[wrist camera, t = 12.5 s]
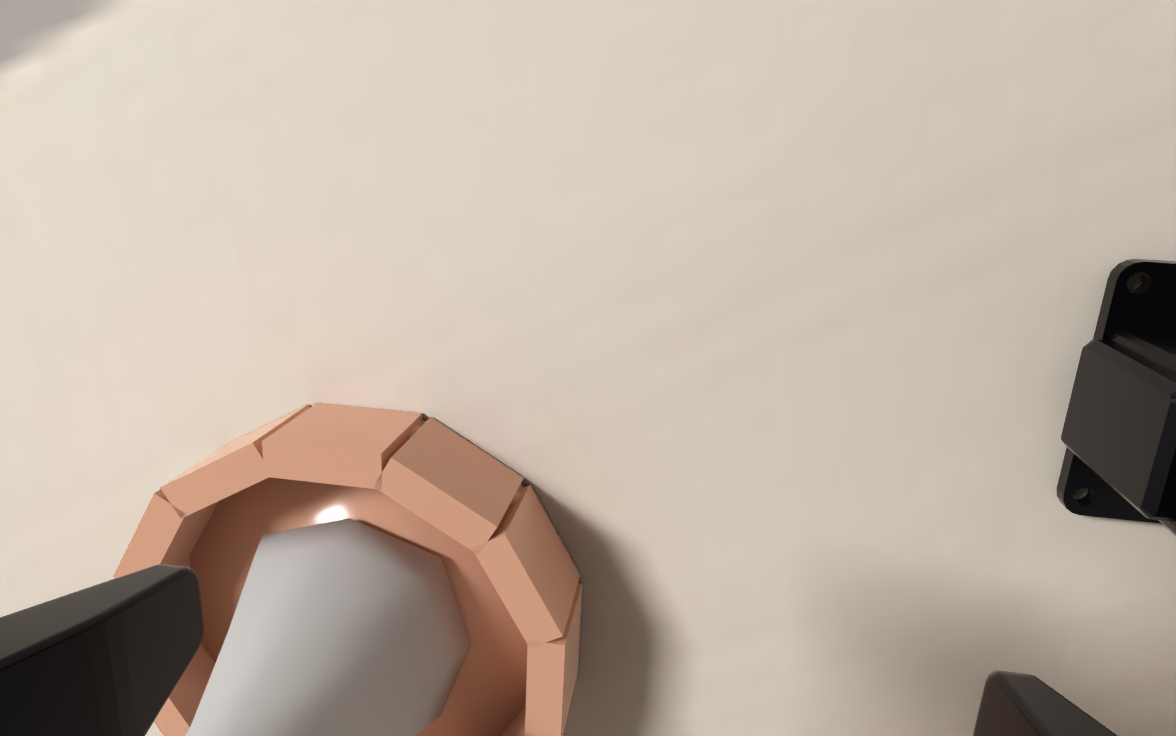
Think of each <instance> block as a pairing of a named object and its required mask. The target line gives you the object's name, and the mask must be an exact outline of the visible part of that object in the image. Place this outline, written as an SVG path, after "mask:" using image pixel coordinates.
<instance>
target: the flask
mask: <svg viewBox="0 0 1176 736" xmlns="http://www.w3.org/2000/svg"><path fill="white" fill-rule="evenodd" d="M470 645H471V642H470V639H469V636H468V633H467V630H466V628H465V625H464V622H463V619H462V616H461V613H460V610H459V607H458V604H457V602H456V599H455V596H454V593H453V590H452V587H451V584H450V581H449V578H448V576H447V573H446V570H445V567H444V564H443V561H442V558H440V557H438V556H436V555H433V554H431V553H429V552H426V551H424V550H422V549H420V548H417V547H415V546H413V545H410V544H408V543H406V542H403V541H401V540H399V539H397V538H394V537H392V536H390V535H387V534H385V533H383V532H381V531H378V530H376V529H374V528H371V527H369V526H367V525H364V524H362V523H360V522H358V521H355V520H353V519H351V518H348V519H343V520H337V521H332V522H327V523H322V524H316V525H311V526H306V527H301V528H295V529H290V530H285V531H280V532H275V533H269V534H264V535H263V536H262V538H261V541H260V543H259V546H258V548H257V551H256V553H255V556H254V559H253V561H252V564H251V567H250V570H249V573H248V576H247V579H246V581H245V584H244V587H243V590H242V593H241V596H240V599H239V602H238V605H237V607H236V610H235V613H234V616H233V619H232V622H231V625H230V628H229V630H228V633H227V636H226V638H225V641H224V643H223V646H222V648H221V651H220V653H219V656H218V658H217V661H216V663H215V666H214V668H213V671H212V673H211V676H210V679H209V681H208V684H207V686H206V689H205V691H204V694H203V696H202V699H201V701H200V704H199V706H198V709H197V711H196V714H195V717H194V719H193V722H192V724H191V727H190V728H189V730H188V732H187V733H186V735H185V736H416V735H417V734H418V733H420V732H421V731H422V730H424V729H425V728H426V727H427V726H429V725H430V724H431V723H432V722H433V721H435V720H436V719H437V718H438V717H439V716H441V714H442V712H443V709H444V707H445V705H446V702H447V700H448V698H449V695H450V693H451V690H452V688H453V686H454V683H455V681H456V678H457V676H458V674H459V671H460V669H461V666H462V664H463V662H464V659H465V657H466V654H467V652H468V650H469V647H470Z"/></svg>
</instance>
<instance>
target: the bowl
mask: <svg viewBox="0 0 1176 736" xmlns="http://www.w3.org/2000/svg"><path fill="white" fill-rule="evenodd" d="M523 478H524V477H522V476H521V475H519V474H518V473H516V472H515V471H513V470H512V469H510V468H508V467H507V466H505V465H504V464H502V463H501V462H499V461H498V460H496V459H495V458H493V457H492V456H490V455H489V454H487V453H486V452H484V451H483V450H481V449H480V448H478V447H477V446H475V445H473V444H472V443H470V442H469V441H467V440H466V439H464V438H463V437H461V436H460V435H458V434H457V433H455V432H454V431H452V430H451V429H449V428H448V427H446V426H445V425H443V424H441V423H440V422H438V421H437V420H435V419H434V418H432V417H430V418H429V419H428V420H427V421H424V420H422V413H413V412H403V411H393V410H383V409H373V408H363V407H353V406H343V405H333V404H323V403H316V404H314V405H313V406H312V407H310V406H309V405H306V406H304V407H302V408H300V409H298V410H296V411H294V412H292V413H290V414H288V415H286V416H284V417H282V418H280V419H278V420H276V421H274V422H272V423H269V424H267V425H265V426H263V427H261V428H259V429H257V430H255V431H253V432H251V433H249V434H247V435H245V436H243V437H241V438H239V439H237V440H235V441H233V442H231V443H229V444H227V445H225V446H223V447H222V448H220V449H219V450H217V451H216V452H214V453H213V454H211V455H210V456H208V457H206V458H205V459H203V460H202V461H200V462H199V463H197V464H196V465H194V466H193V467H191V468H190V469H188V470H187V471H185V472H183V473H182V474H180V475H179V476H177V477H176V478H174V479H173V480H171V481H170V482H168V483H167V484H165V485H164V486H162V487H160V488H161V489H160V490H159V491H157V492H156V493H154V495H153V497H152V499H151V501H150V503H149V505H148V507H147V509H146V511H145V513H144V515H143V517H142V519H141V521H140V523H139V525H138V528H137V530H136V532H135V534H134V536H133V538H132V540H131V542H130V544H129V546H128V548H127V550H126V552H125V554H124V556H123V558H122V560H121V562H120V564H119V566H118V568H117V570H116V572H115V574H114V576H113V577H114V578H119V577H122V576H125V575H127V574H130V573H133V572H136V571H139V570H142V569H145V568H148V567H151V566H154V565H158V564H168V565H175V566H183V567H189V568H191V569H193V570H194V571H195V572H196V574H197V576H198V579H199V585H200V594H201V603H202V612H203V621H204V633H203V638H202V642H201V644H200V647H199V649H198V651H197V652H196V654H195V655H194V657H193V659H192V660H191V662H190V664H189V665H188V667H187V668H186V670H185V672H184V673H183V675H182V677H181V678H180V680H179V681H178V683H177V685H176V686H175V688H174V689H173V691H172V693H171V694H170V696H169V698H168V699H167V701H166V702H165V704H164V706H163V707H162V709H161V711H160V712H159V714H158V715H157V717H156V719H155V720H154V723H155V724H156V725H157V727H158V728H159V730H160V731H161V733H162V734H163V735H164V736H185V735H186V733H187V732H188V730H189V728H190V727H191V724H192V722H193V719H194V717H195V714H196V711H197V709H198V706H199V704H200V701H201V699H202V696H203V694H204V691H205V689H206V686H207V684H208V681H209V679H210V676H211V673H212V671H213V668H214V666H215V663H216V661H217V658H218V656H219V653H220V651H221V648H222V646H223V643H224V641H225V638H226V636H227V633H228V630H229V628H230V625H231V622H232V619H233V616H234V613H235V610H236V607H237V605H238V602H239V599H240V596H241V593H242V590H243V587H244V584H245V581H246V579H247V576H248V573H249V570H250V567H251V564H252V561H253V559H254V556H255V553H256V551H257V548H258V546H259V543H260V541H261V538H262V536H263V535H264V534H269V533H275V532H280V531H285V530H290V529H295V528H301V527H306V526H311V525H316V524H322V523H327V522H332V521H337V520H343V519H348V518H351V519H353V520H355V521H358V522H360V523H362V524H364V525H367V526H369V527H371V528H374V529H376V530H378V531H381V532H383V533H385V534H387V535H390V536H392V537H394V538H397V539H399V540H401V541H403V542H406V543H408V544H410V545H413V546H415V547H417V548H420V549H422V550H424V551H426V552H429V553H431V554H433V555H436V556H438V557H440V558H442V561H443V564H444V567H445V570H446V573H447V576H448V578H449V581H450V584H451V587H452V590H453V593H454V596H455V599H456V602H457V604H458V607H459V610H460V613H461V616H462V619H463V622H464V625H465V628H466V630H467V633H468V636H469V639H470V642H471V645H470V647H469V650H468V652H467V654H466V657H465V659H464V662H463V664H462V666H461V669H460V671H459V674H458V676H457V678H456V681H455V683H454V686H453V688H452V690H451V693H450V695H449V698H448V700H447V702H446V705H445V707H444V709H443V712H442V714H441V716H439V717H438V718H437V719H436V720H435V721H433V722H432V723H431V724H430V725H429V726H427V727H426V728H425V729H424V730H422V731H421V732H420V733H418V734H417V735H416V736H563V732H564V728H565V724H566V720H567V716H568V712H569V708H570V704H571V699H572V695H573V691H574V687H575V683H576V679H577V675H578V660H579V641H580V621H581V602H582V583H578V582H579V579H580V573H579V571H578V570H577V568H576V566H575V564H574V562H573V561H572V559H571V557H570V555H569V553H568V552H567V550H566V548H565V546H564V544H563V543H562V541H561V539H560V537H559V535H558V534H557V532H556V530H555V528H554V526H553V525H552V523H551V521H550V519H549V517H548V516H547V514H546V512H545V510H544V508H543V507H542V505H541V503H540V501H539V499H538V497H537V496H536V494H535V492H534V490H533V488H532V487H531V485H528V486H525V487H524V486H523V485H522V484H521V482H522V480H523Z"/></svg>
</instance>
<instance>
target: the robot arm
mask: <svg viewBox="0 0 1176 736" xmlns="http://www.w3.org/2000/svg"><path fill="white" fill-rule="evenodd" d="M1139 272H1140V273H1141V274H1142V282H1141V284H1140V286H1139V287H1137V288H1136V289H1134V290H1129V289H1128V287H1127V282H1128V280H1129V278H1130V277H1131V276H1132V275H1134V274H1135V273H1139ZM1061 439H1062V441H1063V442H1064V444H1065V445H1066V446H1067V449H1066V453H1065V457H1064V461H1063V465H1062V469H1061V473H1060V477H1059V481H1058V486H1057V497H1058V499H1059V501H1060V502H1061V503H1062V504H1063V505H1064V506H1065V507H1066V508H1067V509H1068V510H1069V511H1071V512H1072V513H1075V514H1078V515H1085V516H1095V517H1105V518H1114V519H1124V520H1133V521H1143V522H1152V523H1162V524H1163V525H1164V526H1165V527H1167V528H1168V529H1169V530H1170V531H1171V532H1172V533H1173V534H1175V535H1176V262H1174V261H1159V260H1144V259H1131V260H1126V261H1124V262H1122V263H1120V264H1118V265H1117V266H1116V267H1115V268H1114V269H1113V270H1112V271H1111V273H1110V275H1109V278H1108V281H1107V285H1106V289H1105V293H1104V297H1103V301H1102V305H1101V310H1100V314H1099V318H1098V322H1097V326H1096V330H1095V334H1094V338H1093V340H1092V341H1090V342H1089V343H1088V344H1087V345H1086V346H1084V347H1083V349H1082V353H1081V357H1080V361H1079V365H1078V369H1077V373H1076V378H1075V382H1074V386H1073V390H1072V394H1071V398H1070V402H1069V407H1068V411H1067V415H1066V419H1065V423H1064V427H1063V432H1062V436H1061ZM1081 488H1088V493H1087V494H1086V496H1084V497H1083V498H1081V499H1074V497H1073V496H1074V494H1075V493H1076V491H1078V490H1079V489H1081ZM203 633H204V621H203V612H202V603H201V594H200V585H199V579H198V576H197V574H196V572H195V571H194V570H193V569H191V568H189V567H183V566H175V565H168V564H158V565H154V566H151V567H148V568H145V569H142V570H139V571H136V572H133V573H130V574H127V575H125V576H122V577H119V578H116V579H113V580H110V581H107V582H104V583H101V584H98V585H95V586H92V587H89V588H86V589H83V590H80V591H77V592H74V593H71V594H68V595H65V596H62V597H60V598H57V599H54V600H51V601H48V602H45V603H42V604H39V605H36V606H33V607H30V608H27V609H24V610H21V611H18V612H15V613H12V614H9V615H6V616H3V617H0V736H145V735H146V733H147V732H148V730H149V728H150V727H151V725H152V723H153V722H154V720H155V719H156V717H157V715H158V714H159V712H160V711H161V709H162V707H163V706H164V704H165V702H166V701H167V699H168V698H169V696H170V694H171V693H172V691H173V689H174V688H175V686H176V685H177V683H178V681H179V680H180V678H181V677H182V675H183V673H184V672H185V670H186V668H187V667H188V665H189V664H190V662H191V660H192V659H193V657H194V655H195V654H196V652H197V651H198V649H199V647H200V644H201V642H202V638H203ZM973 736H1117V735H1116V734H1114V733H1113V732H1111V731H1110V730H1109V729H1107V728H1106V727H1105V726H1103V725H1102V724H1100V723H1099V722H1098V721H1096V720H1095V719H1093V718H1092V717H1091V716H1089V715H1088V714H1087V713H1085V712H1084V711H1082V710H1081V709H1080V708H1078V707H1077V706H1076V705H1074V704H1073V703H1071V702H1070V701H1069V700H1067V699H1066V698H1065V697H1063V696H1062V695H1060V694H1059V693H1058V692H1056V691H1055V690H1053V689H1052V688H1051V687H1049V686H1048V685H1047V684H1045V683H1044V682H1042V681H1041V680H1040V679H1038V678H1037V677H1035V676H1033V675H1029V674H1022V673H1014V672H1006V671H994V672H992V673H990V674H989V676H988V678H987V680H986V682H985V686H984V690H983V694H982V699H981V703H980V707H979V712H978V716H977V720H976V725H975V729H974V734H973Z"/></svg>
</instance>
